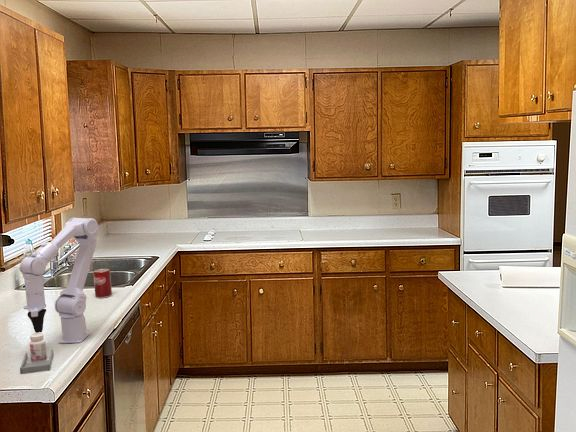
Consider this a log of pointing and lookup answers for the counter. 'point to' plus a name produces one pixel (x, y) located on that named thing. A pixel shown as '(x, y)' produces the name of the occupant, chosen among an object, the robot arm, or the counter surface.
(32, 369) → the tray
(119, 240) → the counter surface
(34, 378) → the counter surface
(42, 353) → the pill bottle
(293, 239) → the counter surface
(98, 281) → the soda can
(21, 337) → the counter surface
